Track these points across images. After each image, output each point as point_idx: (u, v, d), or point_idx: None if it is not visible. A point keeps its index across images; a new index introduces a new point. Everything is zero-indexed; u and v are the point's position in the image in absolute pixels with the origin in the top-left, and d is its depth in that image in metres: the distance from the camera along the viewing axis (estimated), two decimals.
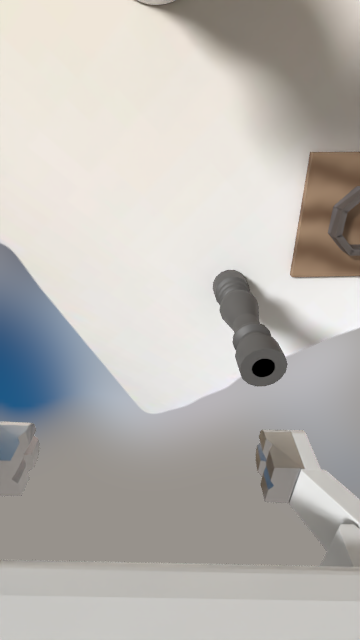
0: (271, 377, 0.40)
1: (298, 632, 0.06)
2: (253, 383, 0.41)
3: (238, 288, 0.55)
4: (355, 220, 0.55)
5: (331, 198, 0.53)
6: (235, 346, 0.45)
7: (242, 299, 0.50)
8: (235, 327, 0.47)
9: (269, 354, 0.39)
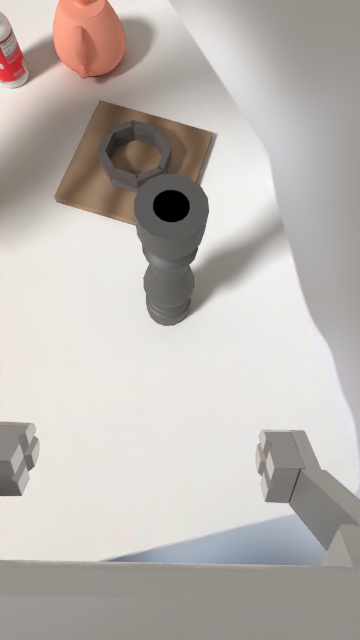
0: (194, 198, 0.25)
1: (298, 632, 0.06)
2: (197, 225, 0.24)
3: None
4: (135, 168, 0.53)
5: (104, 186, 0.52)
6: (171, 267, 0.30)
7: (147, 270, 0.38)
8: (159, 272, 0.33)
9: (148, 193, 0.25)
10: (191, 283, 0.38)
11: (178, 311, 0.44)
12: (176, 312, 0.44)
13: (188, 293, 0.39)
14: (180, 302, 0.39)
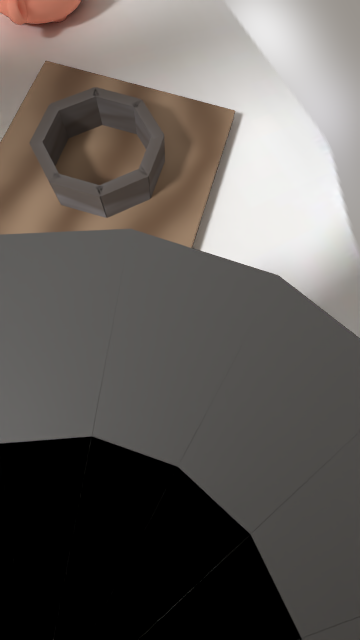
0: (354, 573, 0.02)
1: None
2: None
3: None
4: (102, 173, 0.30)
5: (45, 206, 0.29)
6: None
7: None
8: None
9: None
10: None
11: None
12: None
13: None
14: None
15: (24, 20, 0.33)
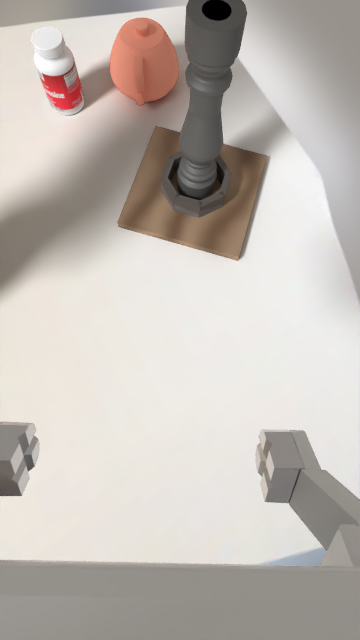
0: (234, 4, 0.31)
1: (298, 632, 0.06)
2: (238, 22, 0.30)
3: None
4: None
5: (165, 211, 0.53)
6: (211, 89, 0.36)
7: (183, 125, 0.44)
8: (198, 107, 0.39)
9: (197, 1, 0.31)
10: (221, 136, 0.44)
11: (208, 177, 0.50)
12: (206, 178, 0.50)
13: (219, 145, 0.45)
14: (212, 155, 0.45)
15: None
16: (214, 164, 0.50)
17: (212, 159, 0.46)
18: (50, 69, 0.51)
